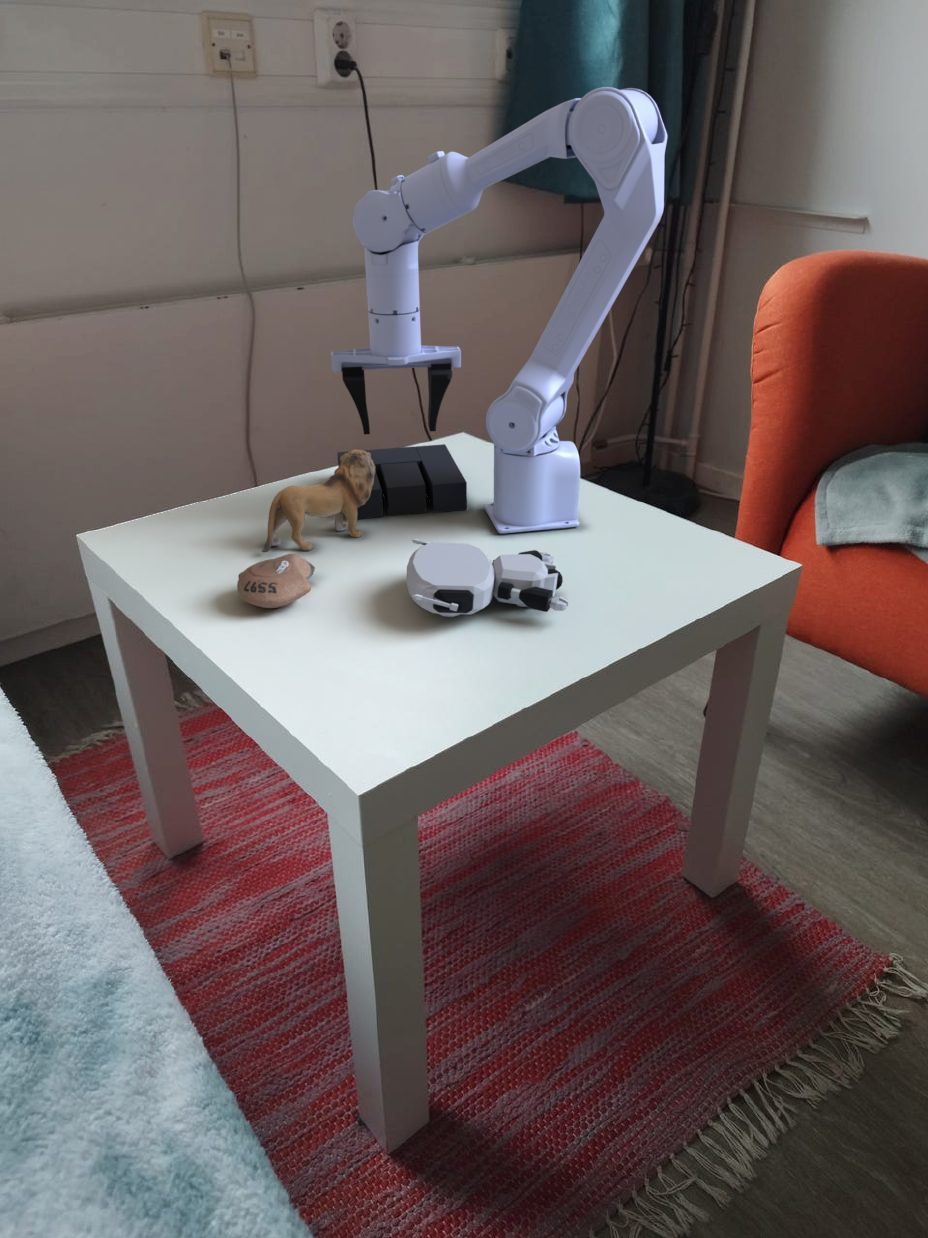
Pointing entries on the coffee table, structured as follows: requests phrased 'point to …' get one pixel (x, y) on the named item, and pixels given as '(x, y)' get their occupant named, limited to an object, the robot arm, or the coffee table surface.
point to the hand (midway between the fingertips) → (399, 430)
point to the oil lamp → (275, 581)
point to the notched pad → (436, 470)
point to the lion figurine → (324, 499)
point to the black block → (403, 488)
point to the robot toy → (480, 579)
